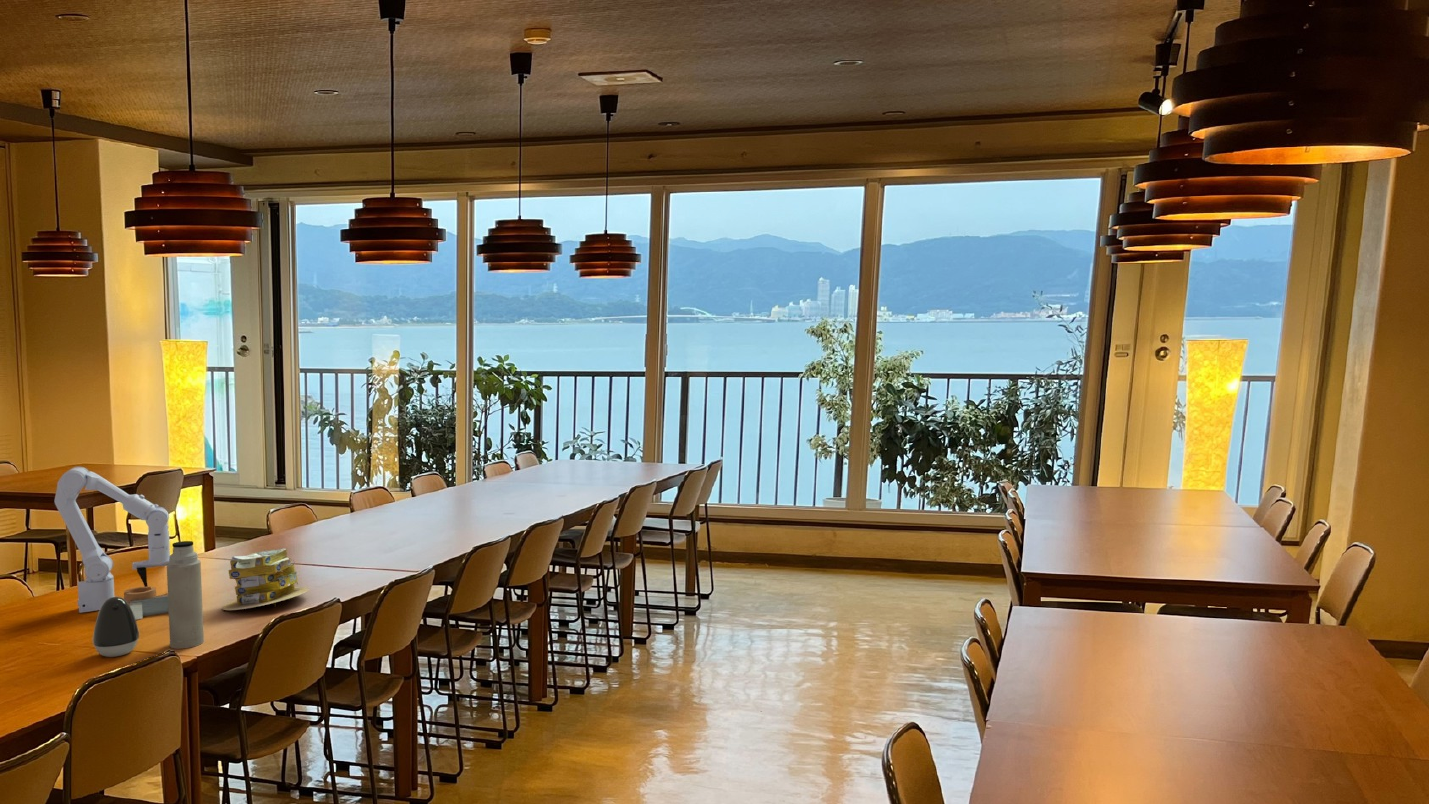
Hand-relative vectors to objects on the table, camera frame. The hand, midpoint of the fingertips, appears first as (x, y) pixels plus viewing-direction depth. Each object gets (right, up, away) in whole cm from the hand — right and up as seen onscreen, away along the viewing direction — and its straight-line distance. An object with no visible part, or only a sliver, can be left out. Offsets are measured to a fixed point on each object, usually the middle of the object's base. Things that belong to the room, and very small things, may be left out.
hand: (160, 588), depth 292 cm
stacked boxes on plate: (+35, -4, -3) cm, 36 cm away
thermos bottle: (+32, -7, -42) cm, 53 cm away
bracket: (+3, -5, -7) cm, 9 cm away
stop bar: (+9, -5, -14) cm, 18 cm away
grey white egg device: (+18, -7, -50) cm, 54 cm away
